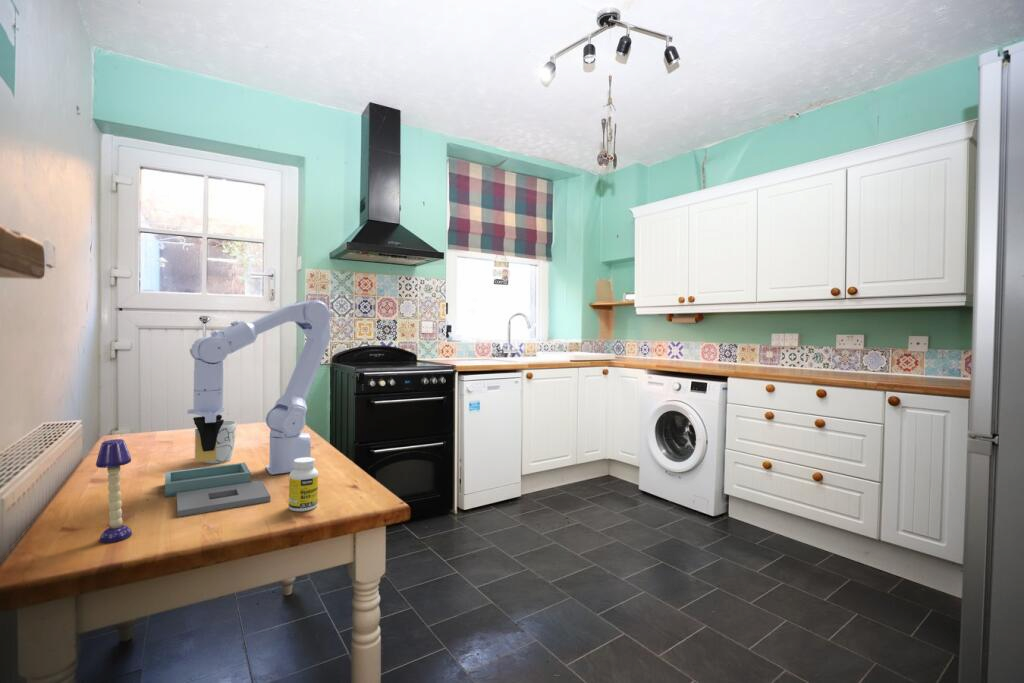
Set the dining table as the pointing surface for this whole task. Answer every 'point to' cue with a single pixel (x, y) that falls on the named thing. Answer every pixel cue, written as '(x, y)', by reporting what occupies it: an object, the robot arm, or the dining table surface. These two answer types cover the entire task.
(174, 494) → the parts tray
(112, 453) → the toy lamp
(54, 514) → the dining table surface
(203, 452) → the block
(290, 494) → the supplement bottle
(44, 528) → the dining table surface
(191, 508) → the socket block
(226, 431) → the mug
